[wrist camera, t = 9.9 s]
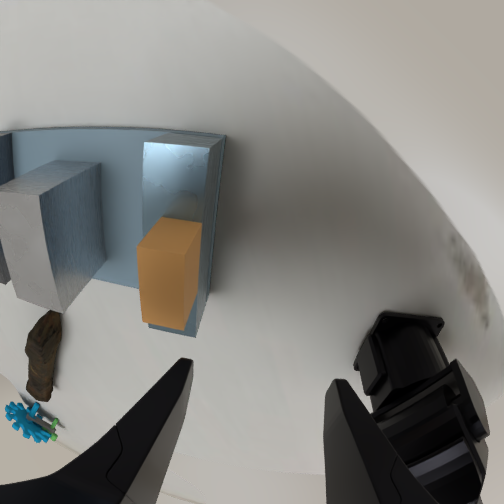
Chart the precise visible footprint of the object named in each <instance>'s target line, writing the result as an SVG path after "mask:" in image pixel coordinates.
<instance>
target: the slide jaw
mask: <svg viewBox="0 0 504 504" xmlns="http://www.w3.org/2000/svg"><path fill="white" fill-rule="evenodd" d="M221 142H222V138H215V137H207V136H197V135H187V134H176V133H166V134H163V135H161V136H158V137H156V138H153V139H151V140H148V141H146V142H144V153H143V184H142V226H143V239H142V240H141V242H140V243H139V244H138V245H137V264H138V279H139V291H140V302H141V311H142V321H143V322H146V323H148V325H149V328H153V329H157V330H161V331H166V332H171V333H175V334H180V335H185V336H190V337H195V338H196V335H197V332H198V328H199V325H200V322H201V318H202V315H203V312H204V309H205V306H206V294H207V281H208V268H209V256H210V245H211V234H212V223H213V213H214V204H215V194H216V185H217V176H218V167H219V159H220V150H221Z"/></svg>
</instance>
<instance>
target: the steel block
mask: <svg viewBox="0 0 504 504" xmlns="http://www.w3.org/2000/svg"><path fill="white" fill-rule="evenodd" d="M0 239H1V244H2V248H3V252H4V256H5V259H6V263H7V266H8V270H9V273H10V277H11V280H12V283H13V286H14V289H15V292H16V295H17V298H19V299H22V300H25V301H27V302H30V303H33V304H36V305H38V306H41V307H44V308H47V309H50V310H53V311H56V312H59V313H62V314H64V312H65V311H66V310H67V308H68V307H69V306H70V305H71V303H72V302H73V301H74V299H75V298H76V297H77V296H78V294H79V293H80V292H81V291H82V289H83V288H84V287H85V286H86V285H87V283H88V282H89V281H90V280H91V279H92V277H93V276H94V275H95V274H96V273H97V271H98V270H99V269H100V268H101V267H102V266H103V264H104V263H105V262H106V261H107V257H106V248H105V238H104V226H103V212H102V194H101V162H84V161H61V160H53V161H51V162H49V163H46V164H44V165H42V166H40V167H38V168H35V169H33V170H31V171H29V172H27V173H25V174H23V175H21V176H19V177H17V178H15V179H13V180H11V181H9V182H7V183H5V184H3V185H1V186H0Z"/></svg>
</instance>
